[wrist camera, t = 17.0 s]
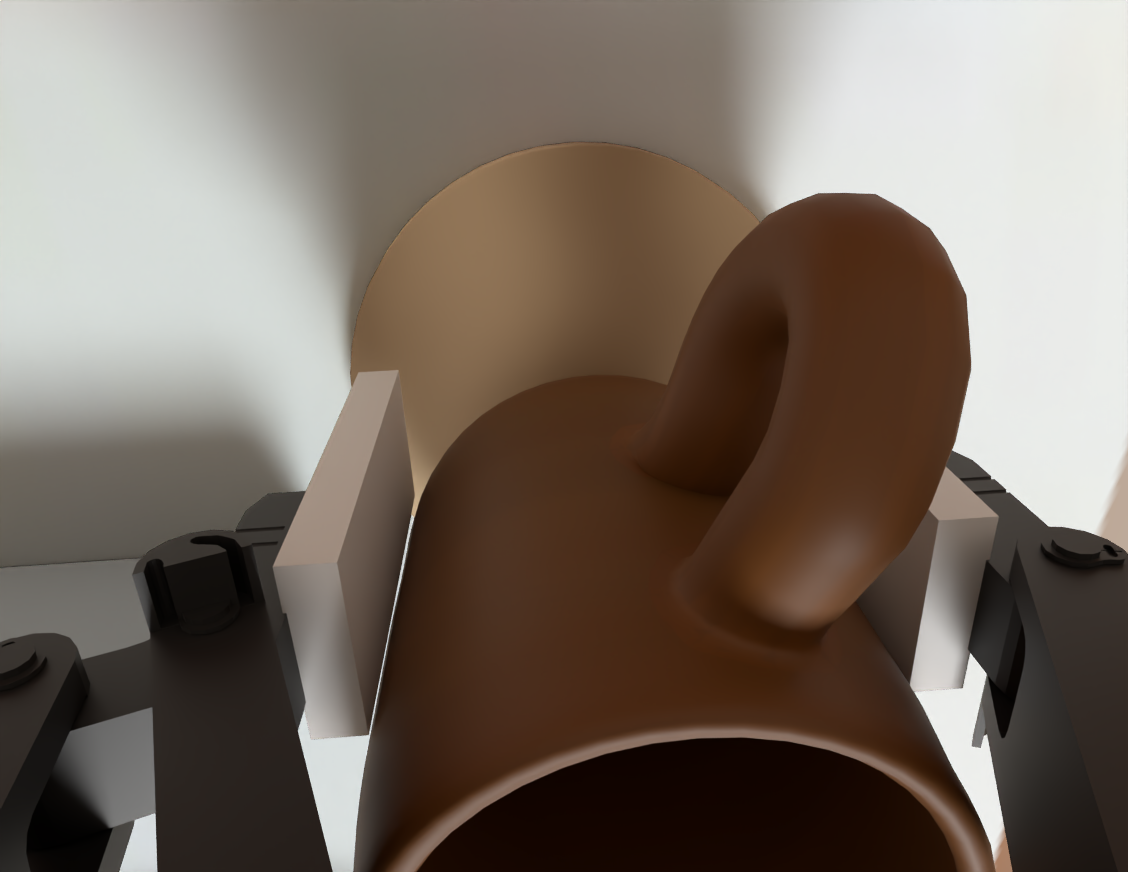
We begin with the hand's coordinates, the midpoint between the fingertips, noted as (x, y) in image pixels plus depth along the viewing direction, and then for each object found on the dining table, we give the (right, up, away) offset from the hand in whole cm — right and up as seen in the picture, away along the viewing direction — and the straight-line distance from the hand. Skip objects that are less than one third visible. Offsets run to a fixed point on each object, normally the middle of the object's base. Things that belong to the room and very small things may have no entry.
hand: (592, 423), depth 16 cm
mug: (+1, 0, +1) cm, 1 cm away
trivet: (0, +1, +2) cm, 3 cm away
